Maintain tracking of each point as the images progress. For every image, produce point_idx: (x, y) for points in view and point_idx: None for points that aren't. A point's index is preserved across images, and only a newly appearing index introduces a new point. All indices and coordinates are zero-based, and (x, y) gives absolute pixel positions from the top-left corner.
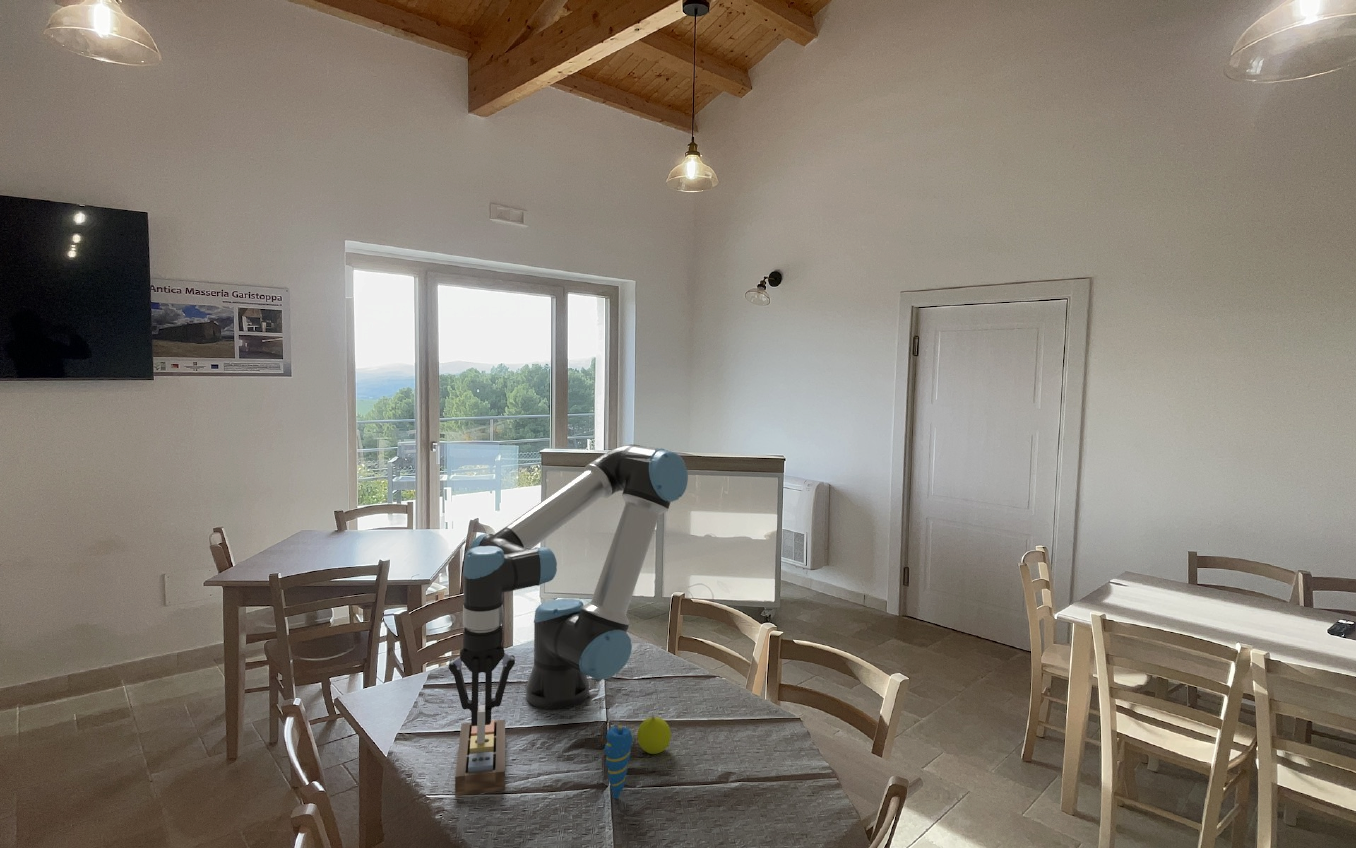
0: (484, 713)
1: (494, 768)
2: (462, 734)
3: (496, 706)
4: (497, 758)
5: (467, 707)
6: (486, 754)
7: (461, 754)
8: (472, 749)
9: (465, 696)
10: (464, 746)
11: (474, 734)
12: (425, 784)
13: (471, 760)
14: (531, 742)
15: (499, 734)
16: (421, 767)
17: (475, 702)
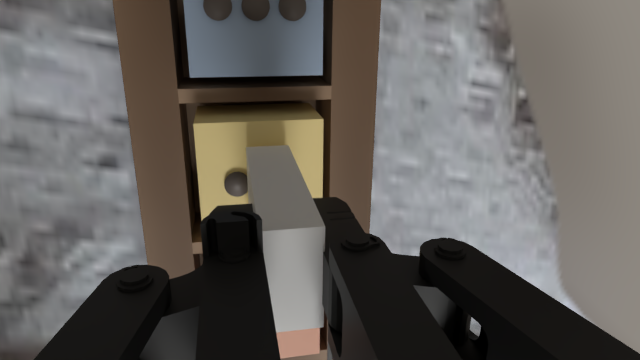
0: (263, 224)
1: (189, 75)
2: None
3: (149, 266)
4: (162, 36)
5: (425, 249)
6: (227, 53)
7: (358, 109)
8: (308, 117)
9: (502, 313)
10: (345, 179)
11: None
12: (471, 37)
13: (308, 6)
14: (41, 282)
15: (177, 265)
16: (482, 156)
17: (368, 279)
